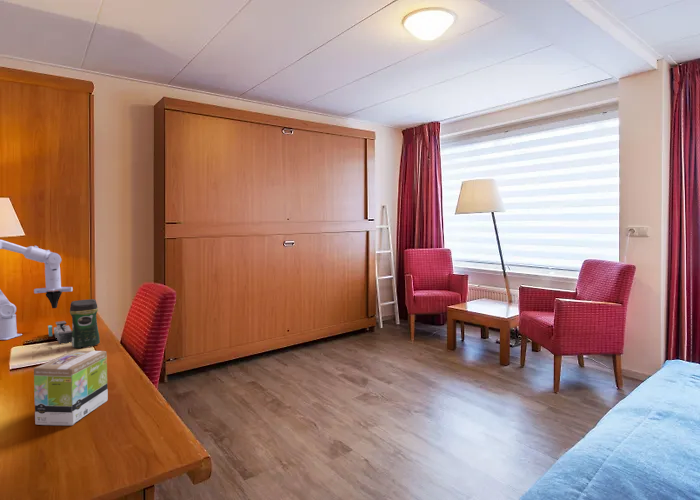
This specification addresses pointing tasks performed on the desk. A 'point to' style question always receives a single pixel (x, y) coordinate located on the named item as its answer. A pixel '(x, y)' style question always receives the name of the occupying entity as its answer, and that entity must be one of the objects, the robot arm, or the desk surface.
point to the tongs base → (67, 332)
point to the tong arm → (60, 332)
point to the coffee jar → (84, 323)
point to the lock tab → (50, 330)
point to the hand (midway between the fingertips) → (54, 307)
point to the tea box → (70, 387)
